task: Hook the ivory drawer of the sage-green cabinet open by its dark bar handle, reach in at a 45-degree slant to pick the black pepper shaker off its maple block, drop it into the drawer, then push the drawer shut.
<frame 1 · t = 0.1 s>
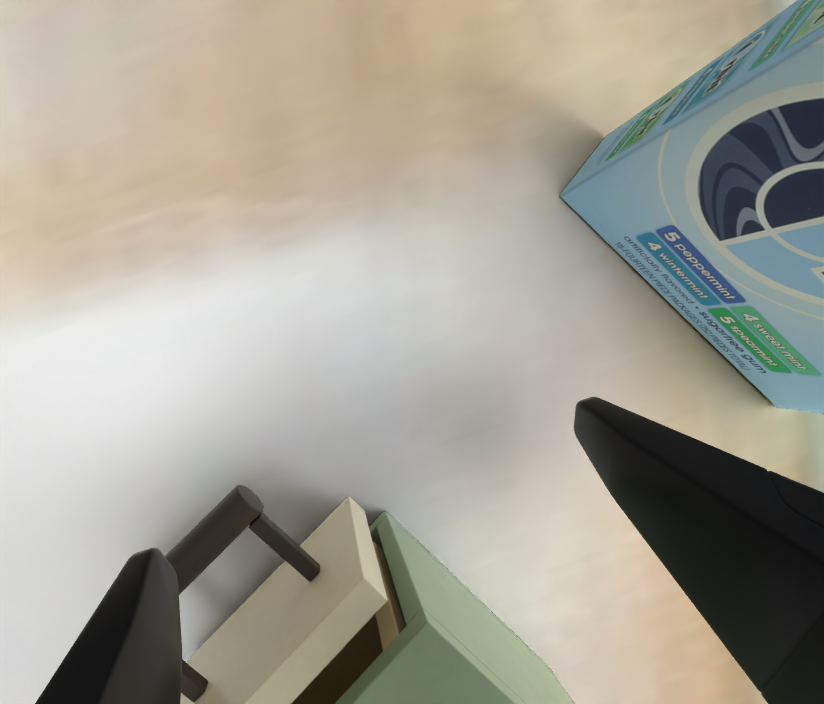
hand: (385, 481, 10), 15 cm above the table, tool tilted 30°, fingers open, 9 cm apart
gum box: (689, 278, 28), on the table
cabinet: (395, 673, 25), on the table
drawer: (330, 683, 20), point 5 cm above the table, slide at 1.0 cm
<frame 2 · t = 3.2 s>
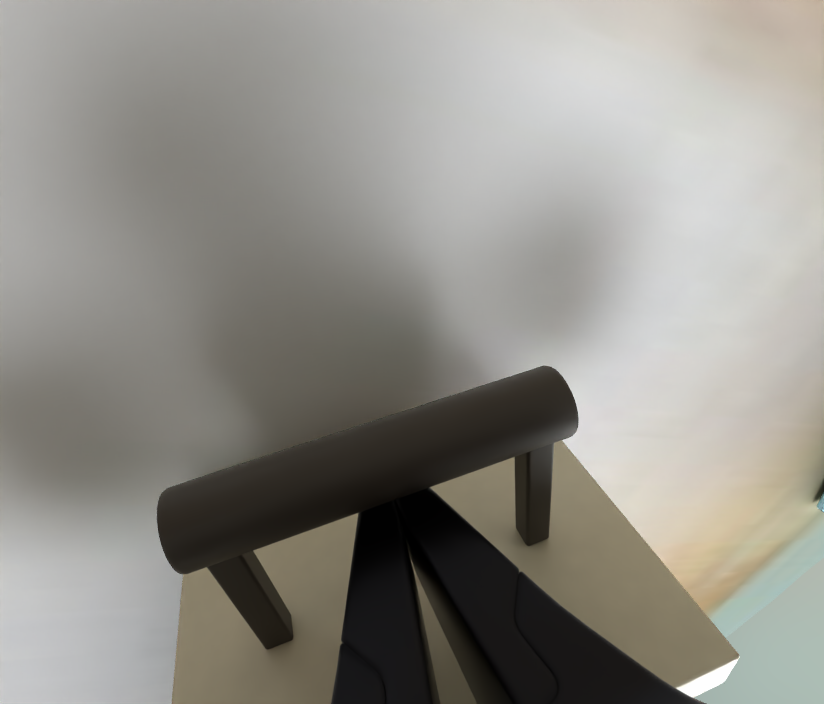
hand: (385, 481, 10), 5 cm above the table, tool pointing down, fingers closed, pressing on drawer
drawer: (425, 636, 13), point 5 cm above the table, slide at 4.3 cm, touching gripper
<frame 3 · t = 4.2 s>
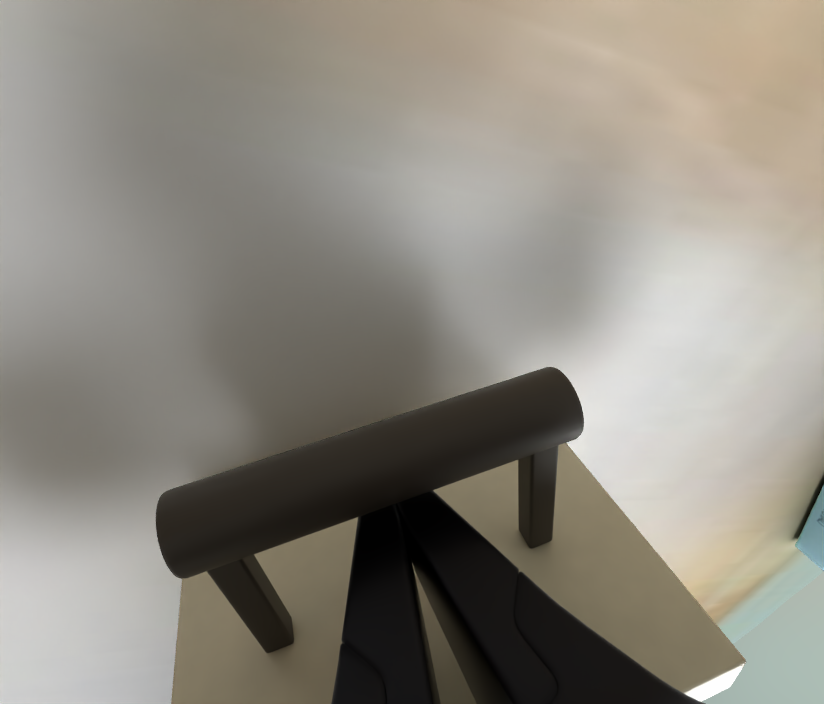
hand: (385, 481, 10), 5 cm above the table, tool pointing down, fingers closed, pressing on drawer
drawer: (426, 638, 13), point 5 cm above the table, slide at 8.6 cm, touching gripper
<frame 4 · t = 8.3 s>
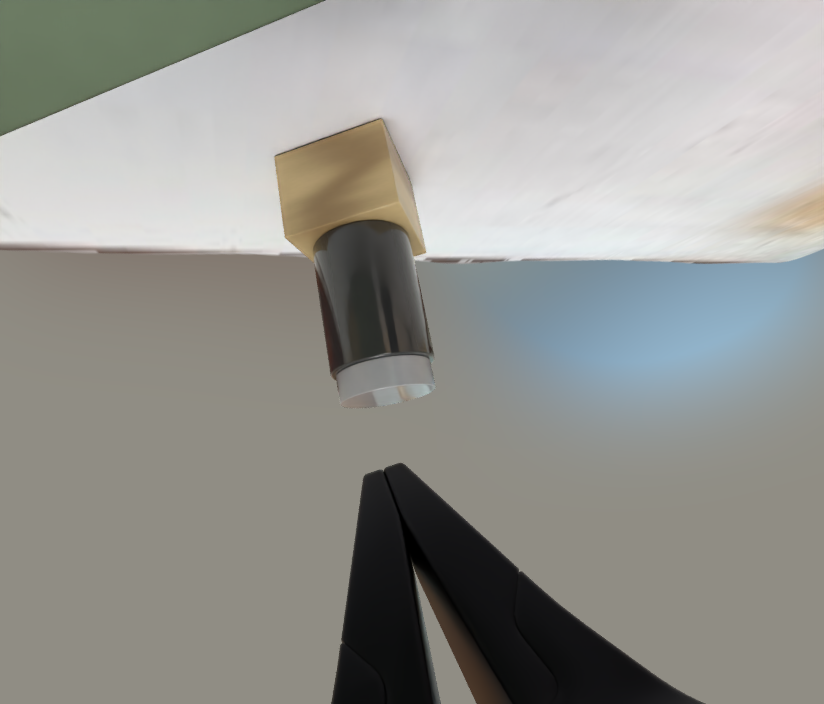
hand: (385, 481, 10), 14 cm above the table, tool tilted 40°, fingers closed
pepper shaker: (361, 246, 21), point 4 cm above the table, touching maple block
maple block: (348, 171, 22), on the table
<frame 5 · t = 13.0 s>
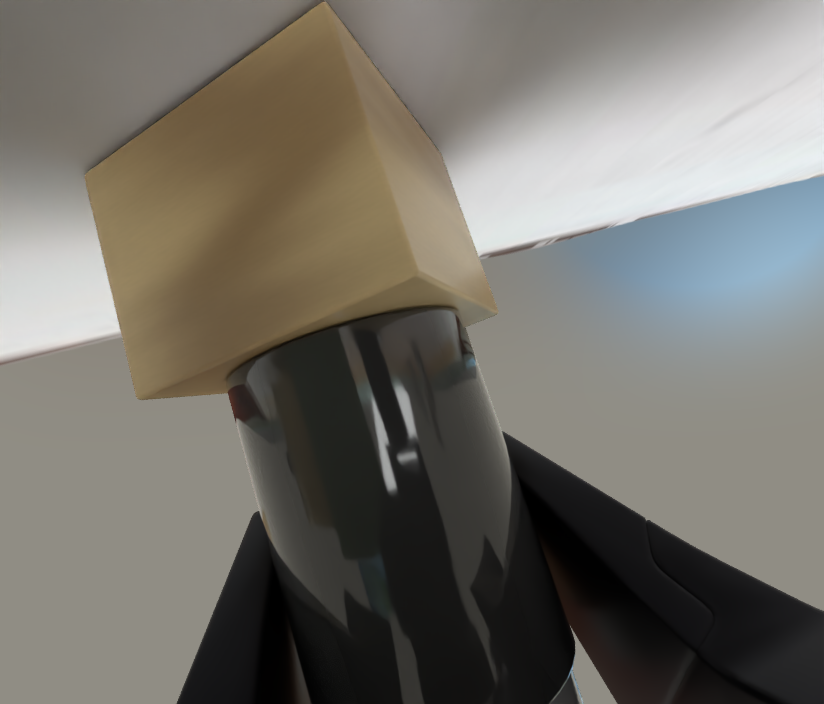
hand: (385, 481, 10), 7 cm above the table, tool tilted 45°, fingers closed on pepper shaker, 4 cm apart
pepper shaker: (347, 350, 9), point 4 cm above the table, touching gripper, maple block
maple block: (289, 161, 9), on the table
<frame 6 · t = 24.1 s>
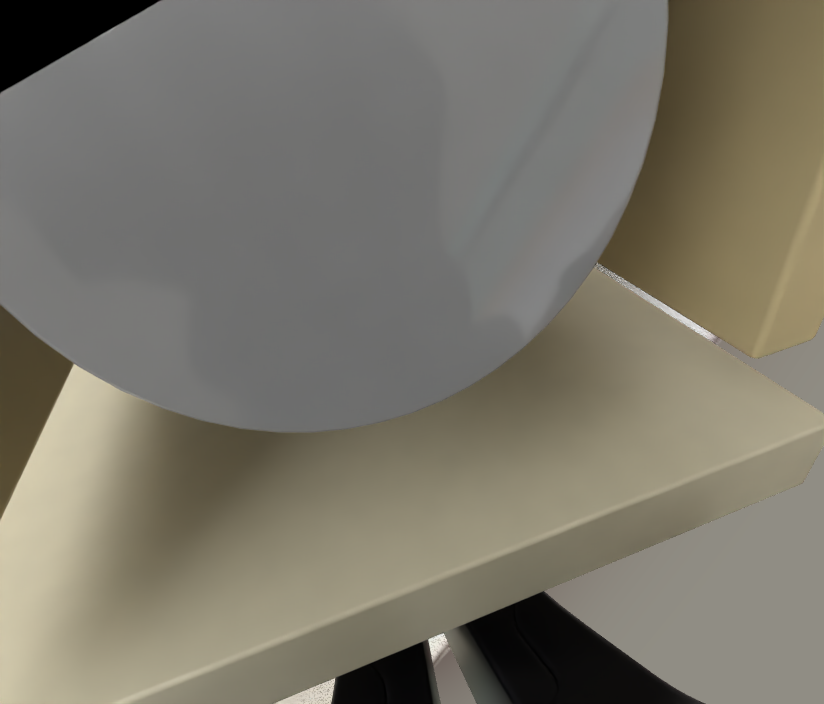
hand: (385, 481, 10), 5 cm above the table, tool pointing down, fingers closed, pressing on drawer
pepper shaker: (268, 72, 8), point 2 cm above the table, touching drawer
drawer: (310, 202, 6), point 5 cm above the table, slide at 7.3 cm, touching gripper, pepper shaker
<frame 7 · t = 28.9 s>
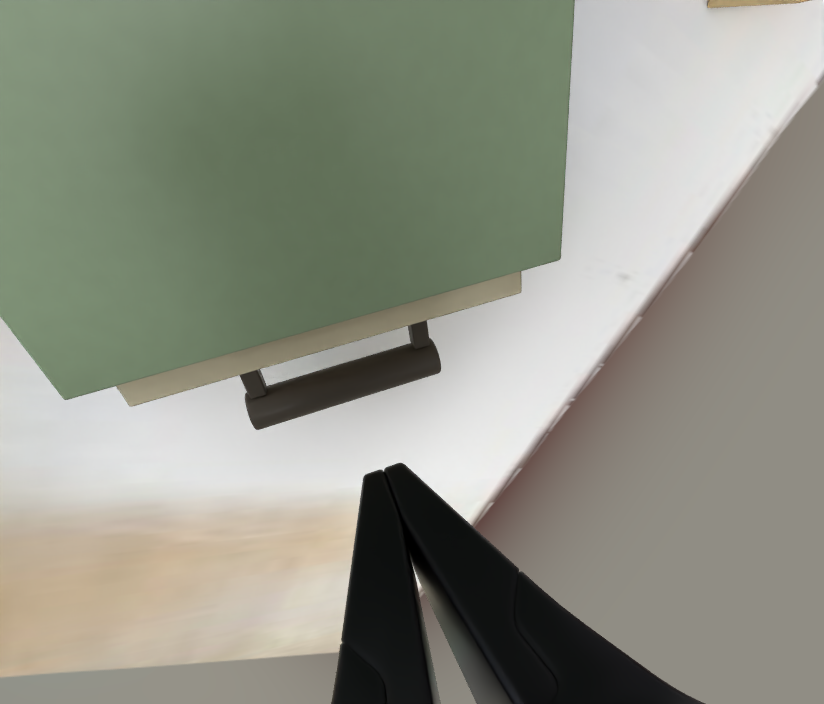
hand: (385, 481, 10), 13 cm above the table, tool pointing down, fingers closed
drawer: (281, 156, 13), point 5 cm above the table, slide at 0.0 cm, touching cabinet, pepper shaker
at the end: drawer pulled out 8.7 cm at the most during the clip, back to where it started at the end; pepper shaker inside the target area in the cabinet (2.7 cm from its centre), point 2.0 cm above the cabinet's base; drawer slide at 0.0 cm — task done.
